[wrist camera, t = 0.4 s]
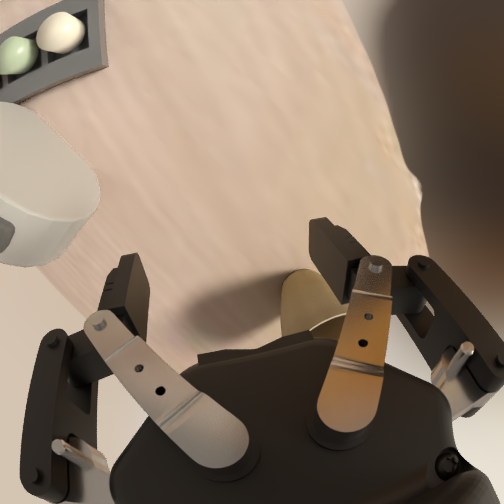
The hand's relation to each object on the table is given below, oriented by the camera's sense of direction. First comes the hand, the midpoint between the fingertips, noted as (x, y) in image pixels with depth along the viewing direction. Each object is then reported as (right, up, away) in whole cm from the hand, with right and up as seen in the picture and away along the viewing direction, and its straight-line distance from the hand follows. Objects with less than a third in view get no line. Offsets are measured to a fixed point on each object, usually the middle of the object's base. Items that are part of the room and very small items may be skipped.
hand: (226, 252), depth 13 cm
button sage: (-28, +25, +7) cm, 39 cm away
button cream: (-22, +27, +8) cm, 35 cm away
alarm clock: (-28, +13, +18) cm, 36 cm away
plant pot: (+10, -6, +40) cm, 42 cm away
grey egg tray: (-29, +27, +9) cm, 40 cm away
